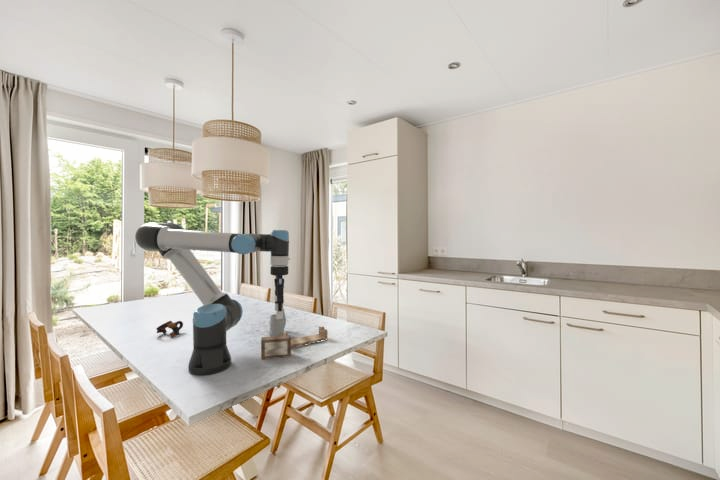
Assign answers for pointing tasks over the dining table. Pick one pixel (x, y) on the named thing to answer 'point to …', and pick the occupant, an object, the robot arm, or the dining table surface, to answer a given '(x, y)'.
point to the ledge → (309, 338)
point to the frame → (275, 346)
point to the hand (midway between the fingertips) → (278, 314)
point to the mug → (277, 325)
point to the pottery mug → (171, 326)
